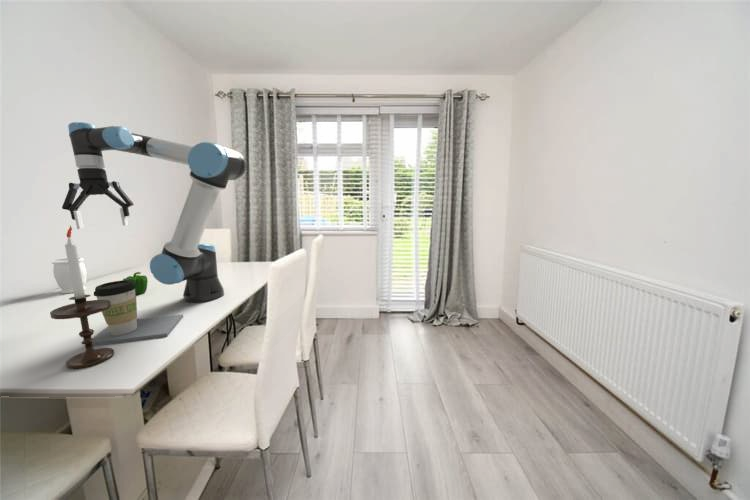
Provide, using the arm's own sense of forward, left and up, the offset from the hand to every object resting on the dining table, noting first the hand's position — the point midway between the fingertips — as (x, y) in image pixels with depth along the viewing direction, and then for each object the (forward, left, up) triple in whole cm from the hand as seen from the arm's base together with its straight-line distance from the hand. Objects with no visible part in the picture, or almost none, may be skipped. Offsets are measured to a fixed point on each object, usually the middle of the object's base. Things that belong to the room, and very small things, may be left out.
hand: (103, 227), depth 110 cm
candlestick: (-14, +46, -32) cm, 57 cm away
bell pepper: (0, -17, -32) cm, 36 cm away
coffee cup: (-15, +30, -30) cm, 45 cm away
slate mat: (-18, +29, -31) cm, 46 cm away
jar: (+30, -32, -32) cm, 54 cm away
